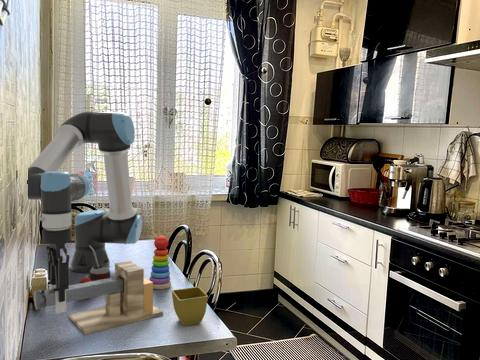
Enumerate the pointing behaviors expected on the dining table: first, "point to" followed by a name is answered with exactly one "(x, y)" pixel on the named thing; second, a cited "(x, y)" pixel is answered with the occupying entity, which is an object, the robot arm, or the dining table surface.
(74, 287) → the shaft
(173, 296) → the flower pot
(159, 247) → the stacking toy
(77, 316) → the stand
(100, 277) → the mate gourd
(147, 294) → the collar
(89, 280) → the onion
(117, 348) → the dining table surface
